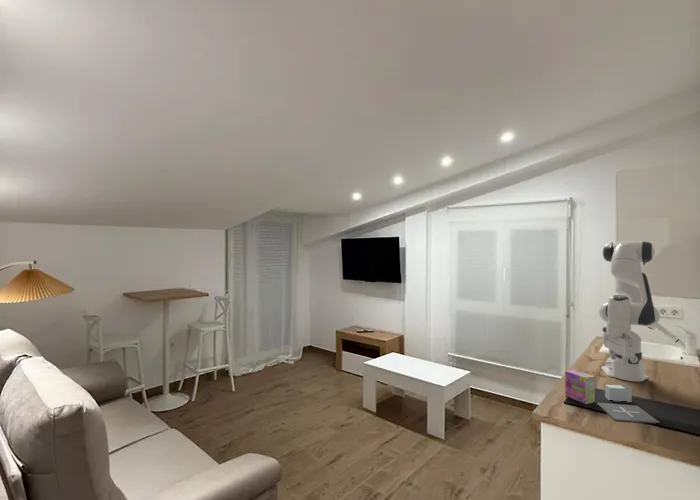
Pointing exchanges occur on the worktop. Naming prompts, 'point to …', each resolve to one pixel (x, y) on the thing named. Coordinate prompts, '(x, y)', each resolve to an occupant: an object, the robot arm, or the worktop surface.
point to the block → (618, 393)
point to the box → (580, 386)
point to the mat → (627, 413)
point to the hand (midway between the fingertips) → (618, 362)
